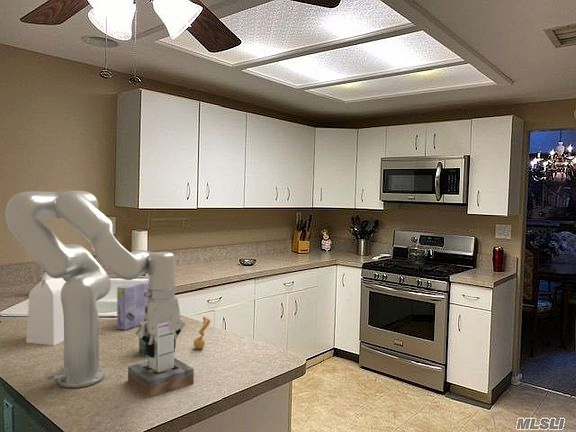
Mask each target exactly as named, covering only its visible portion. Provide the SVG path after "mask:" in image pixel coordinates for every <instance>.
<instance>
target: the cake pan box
mask: <svg viewBox="0 0 576 432" xmlns="http://www.w3.org/2000/svg"><path fill="white" fill-rule="evenodd" d="M148 283H149V280H147V281H141V282H137V283H132V284H131V283H130V284H126V285H123V286H117V288H116V289H117V290H116V329H117V330H118V329H119V330H121V331H127V330H130V329H133V328H135V327H139V322H140V321H143V316H144V308H145V303H146V300H147V299H148V297H145V296H144V293H145V292H148Z"/></svg>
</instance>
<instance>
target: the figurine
mask: <svg viewBox="0 0 576 432" xmlns="http://www.w3.org/2000/svg"><path fill="white" fill-rule="evenodd" d="M202 320H203V322H202V324H203V325H202V327H201V328H200V330H199V331H198V333H199V335H200V336H199V337H197V338H195V339H194V341H193V346H194V348H196V349H197V350H201V349H203V348H204V346H205V344H206V343H205V340H204V339H203V337H204V335H205V332H204V331H205V330H206V329H207V328H208V326H209V325H210V323H211V319H210V318H209V317H206V316H203V318H202Z"/></svg>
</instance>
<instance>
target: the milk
mask: <svg viewBox="0 0 576 432" xmlns="http://www.w3.org/2000/svg"><path fill="white" fill-rule="evenodd" d="M66 281H67V280H65V279H64V278H58V279H57V278H52V277H50V276H49V275H47V273H46V272H45V271H44V272H43V276H42V278H41V280H40V281H39V282H38V283H37V284H36V285H35V286H34V287H32V289H31V290H30V291H29V292H28V304H27V305H28V307H27V308H28V309H27V328H26V343H27V344H34V345H35V344H37V345H48V346H55V345H57V344H60V343H62V342H64V315H63V307H62V302H61V289H62V287H63V285H64V284H65V283H66Z"/></svg>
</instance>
